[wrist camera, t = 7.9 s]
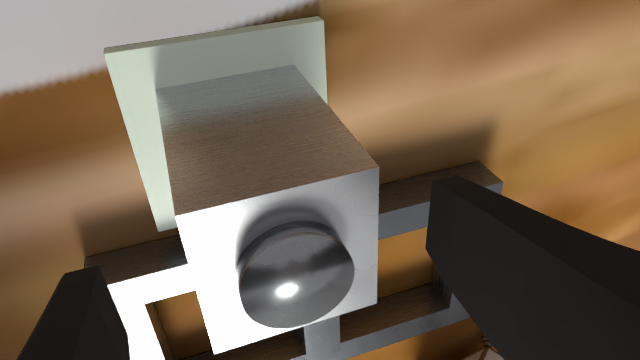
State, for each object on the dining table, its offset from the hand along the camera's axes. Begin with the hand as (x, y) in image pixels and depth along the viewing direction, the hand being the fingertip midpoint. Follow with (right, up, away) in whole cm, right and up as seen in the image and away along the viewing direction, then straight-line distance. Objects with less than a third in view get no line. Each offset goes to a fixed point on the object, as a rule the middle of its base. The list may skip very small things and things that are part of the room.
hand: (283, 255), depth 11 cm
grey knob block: (-2, +3, +5) cm, 6 cm away
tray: (-2, +3, +5) cm, 6 cm away
